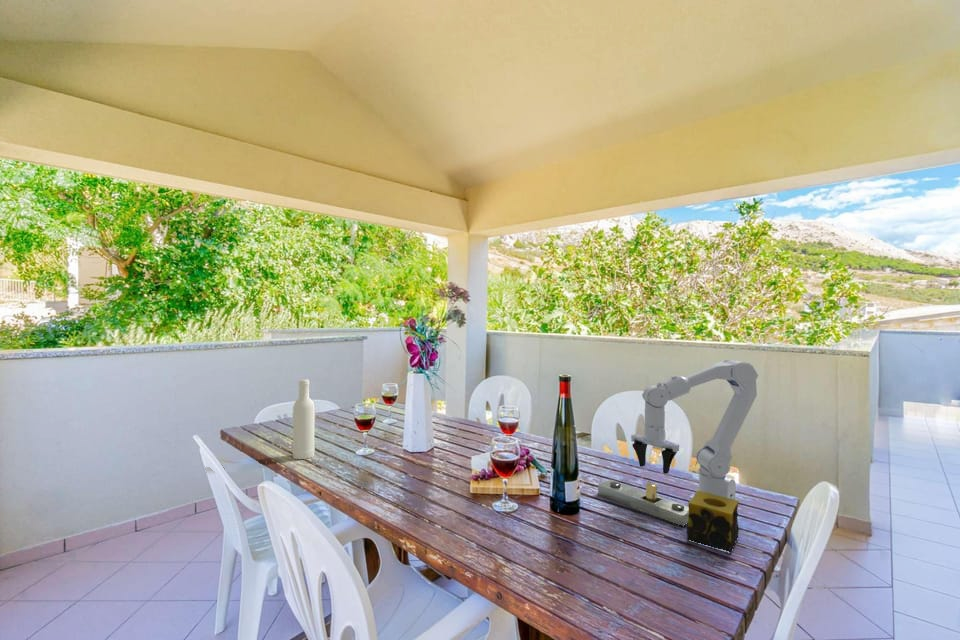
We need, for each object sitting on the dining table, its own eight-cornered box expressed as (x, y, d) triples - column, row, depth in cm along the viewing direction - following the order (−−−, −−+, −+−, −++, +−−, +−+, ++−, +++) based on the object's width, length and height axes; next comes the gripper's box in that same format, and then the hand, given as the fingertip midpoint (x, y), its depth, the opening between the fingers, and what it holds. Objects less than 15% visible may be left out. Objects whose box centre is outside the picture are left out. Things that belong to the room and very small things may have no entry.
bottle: (287, 458, 168) (288, 380, 168) (301, 452, 175) (302, 378, 175) (305, 460, 166) (306, 382, 165) (318, 454, 173) (319, 379, 173)
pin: (658, 509, 128) (658, 485, 128) (653, 512, 126) (653, 487, 126) (648, 505, 130) (649, 482, 130) (643, 508, 128) (644, 484, 128)
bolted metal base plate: (694, 519, 121) (694, 506, 121) (682, 526, 117) (682, 513, 117) (611, 488, 143) (611, 477, 142) (598, 493, 138) (598, 482, 138)
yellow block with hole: (695, 526, 118) (696, 489, 118) (738, 539, 111) (739, 500, 111) (685, 541, 110) (686, 501, 110) (731, 555, 103) (732, 513, 103)
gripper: (626, 422, 137) (625, 465, 137) (671, 432, 126) (670, 479, 126) (638, 419, 142) (637, 461, 142) (682, 428, 131) (682, 473, 131)
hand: (653, 469), depth 134 cm, fingers open, 7 cm apart
